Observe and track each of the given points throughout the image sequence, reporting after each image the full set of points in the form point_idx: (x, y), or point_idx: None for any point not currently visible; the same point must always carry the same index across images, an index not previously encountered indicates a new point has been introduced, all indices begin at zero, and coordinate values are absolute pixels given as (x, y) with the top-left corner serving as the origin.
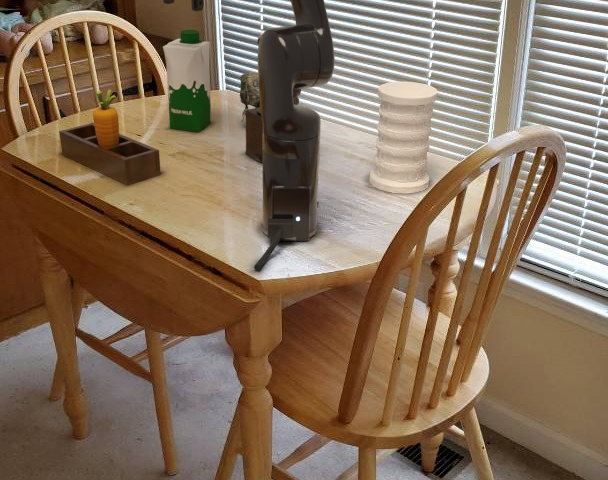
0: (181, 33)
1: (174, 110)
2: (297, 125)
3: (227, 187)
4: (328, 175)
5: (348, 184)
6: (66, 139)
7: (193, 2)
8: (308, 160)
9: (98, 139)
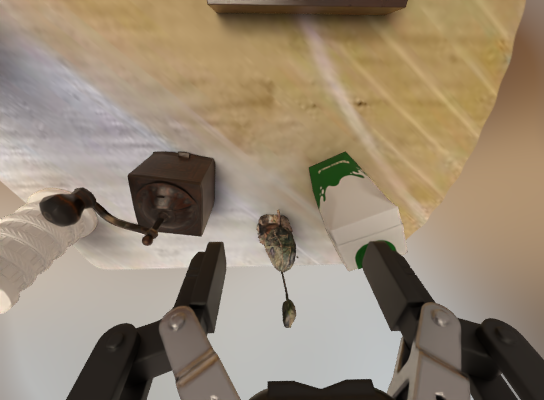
0: None
1: (341, 161)
2: None
3: (124, 60)
4: (110, 179)
5: (77, 176)
6: None
7: (203, 261)
8: None
9: None
